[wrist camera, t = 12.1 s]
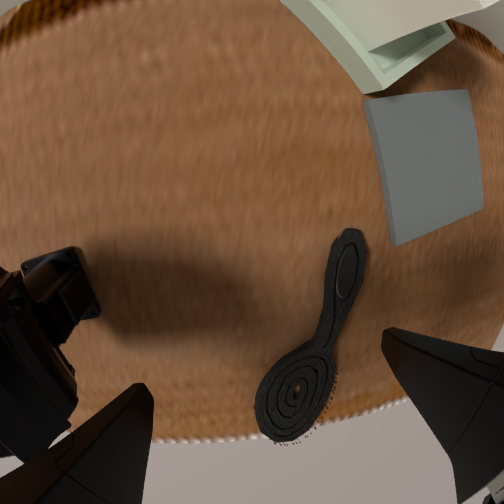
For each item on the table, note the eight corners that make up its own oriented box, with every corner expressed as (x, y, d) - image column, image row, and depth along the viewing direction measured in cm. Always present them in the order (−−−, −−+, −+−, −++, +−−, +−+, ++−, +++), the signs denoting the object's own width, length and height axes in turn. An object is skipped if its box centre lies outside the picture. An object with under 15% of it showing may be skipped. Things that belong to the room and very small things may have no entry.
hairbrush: (408, 245, 21) (317, 445, 28) (384, 232, 24) (309, 423, 32) (315, 226, 19) (248, 449, 27) (300, 215, 23) (245, 425, 30)
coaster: (390, 242, 23) (396, 246, 22) (361, 101, 18) (368, 99, 18) (476, 205, 23) (483, 208, 22) (460, 89, 18) (467, 89, 17)
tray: (363, 94, 18) (384, 89, 15) (271, -8, 15) (279, -26, 12) (434, 43, 17) (455, 37, 14) (359, -45, 13) (374, -59, 10)
